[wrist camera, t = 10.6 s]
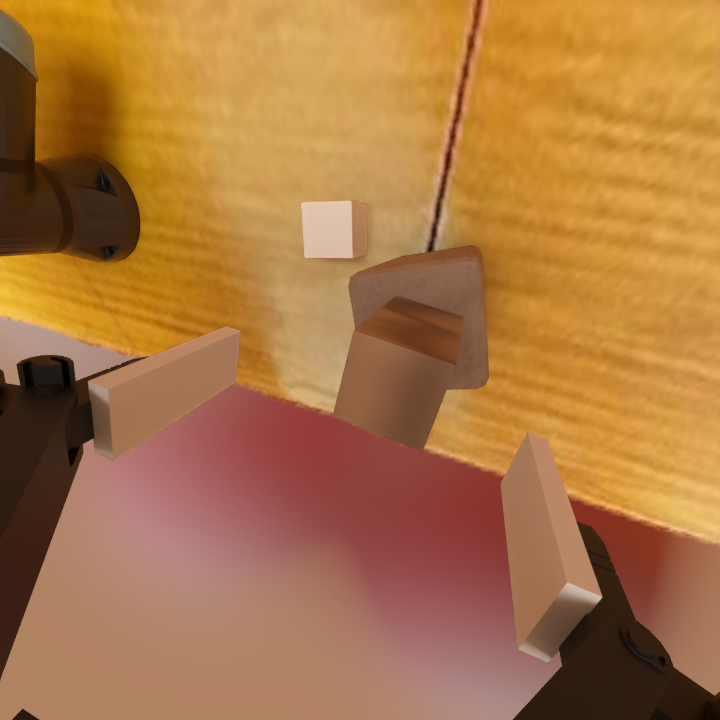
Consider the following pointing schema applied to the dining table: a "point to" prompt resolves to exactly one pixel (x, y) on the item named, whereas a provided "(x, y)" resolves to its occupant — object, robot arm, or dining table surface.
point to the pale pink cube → (334, 229)
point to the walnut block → (399, 370)
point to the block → (434, 300)
